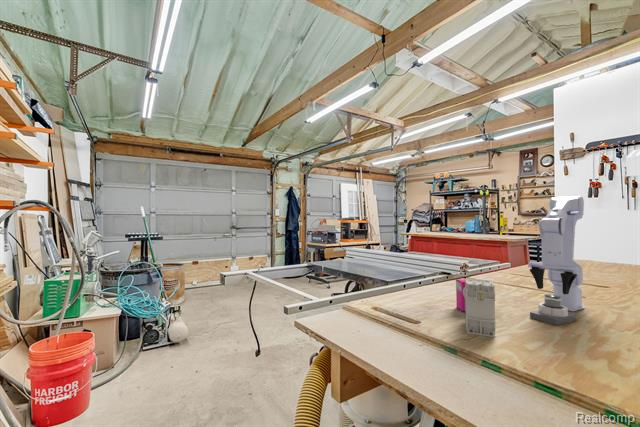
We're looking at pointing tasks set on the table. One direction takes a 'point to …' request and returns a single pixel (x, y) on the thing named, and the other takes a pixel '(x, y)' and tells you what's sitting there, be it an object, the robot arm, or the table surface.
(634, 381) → the table surface
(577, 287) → the robot arm
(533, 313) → the camera body
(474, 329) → the circuit breaker
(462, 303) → the supplement box
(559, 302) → the lens
